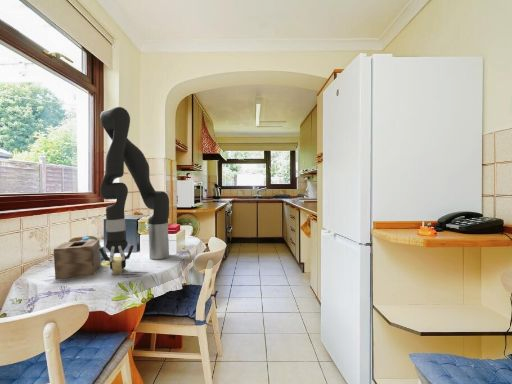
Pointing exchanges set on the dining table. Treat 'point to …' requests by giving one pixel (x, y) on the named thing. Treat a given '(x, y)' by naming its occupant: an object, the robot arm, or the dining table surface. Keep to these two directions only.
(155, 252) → the robot arm
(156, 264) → the dining table surface
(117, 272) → the beige block
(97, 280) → the dining table surface
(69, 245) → the money box
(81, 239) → the tin
